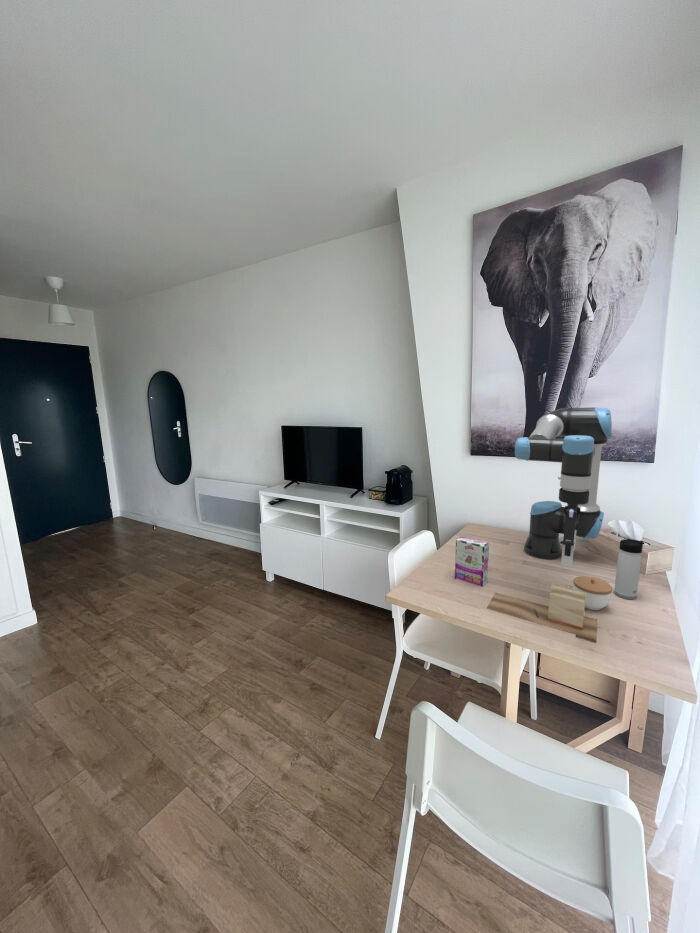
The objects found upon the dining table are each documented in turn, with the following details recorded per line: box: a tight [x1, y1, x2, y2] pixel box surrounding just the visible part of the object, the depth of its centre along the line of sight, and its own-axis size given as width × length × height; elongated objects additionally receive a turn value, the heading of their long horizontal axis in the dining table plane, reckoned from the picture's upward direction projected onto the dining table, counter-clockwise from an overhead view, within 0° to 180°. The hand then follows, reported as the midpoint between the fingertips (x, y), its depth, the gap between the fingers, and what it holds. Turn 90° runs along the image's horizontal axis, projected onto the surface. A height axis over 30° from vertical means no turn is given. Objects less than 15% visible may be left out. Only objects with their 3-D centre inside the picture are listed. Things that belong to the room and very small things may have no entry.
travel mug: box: [613, 538, 645, 600], centre depth 125 cm, size 6×7×20 cm
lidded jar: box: [572, 575, 613, 611], centre depth 120 cm, size 11×11×9 cm
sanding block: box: [548, 585, 586, 630], centre depth 110 cm, size 6×9×9 cm, turn 55°
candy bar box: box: [454, 536, 490, 587], centre depth 137 cm, size 11×5×16 cm, turn 47°
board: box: [486, 592, 598, 644], centre depth 115 cm, size 12×30×1 cm, turn 55°
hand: (568, 556), depth 110 cm, fingers open, 13 cm apart
